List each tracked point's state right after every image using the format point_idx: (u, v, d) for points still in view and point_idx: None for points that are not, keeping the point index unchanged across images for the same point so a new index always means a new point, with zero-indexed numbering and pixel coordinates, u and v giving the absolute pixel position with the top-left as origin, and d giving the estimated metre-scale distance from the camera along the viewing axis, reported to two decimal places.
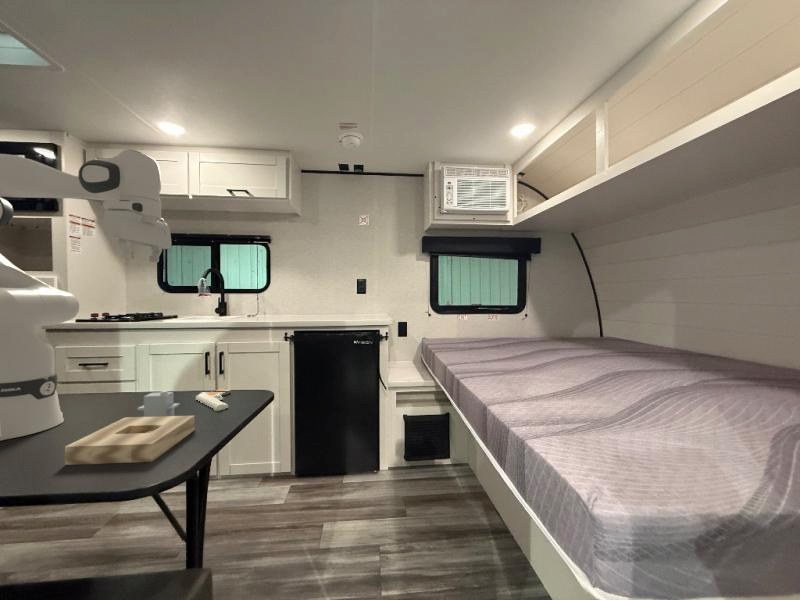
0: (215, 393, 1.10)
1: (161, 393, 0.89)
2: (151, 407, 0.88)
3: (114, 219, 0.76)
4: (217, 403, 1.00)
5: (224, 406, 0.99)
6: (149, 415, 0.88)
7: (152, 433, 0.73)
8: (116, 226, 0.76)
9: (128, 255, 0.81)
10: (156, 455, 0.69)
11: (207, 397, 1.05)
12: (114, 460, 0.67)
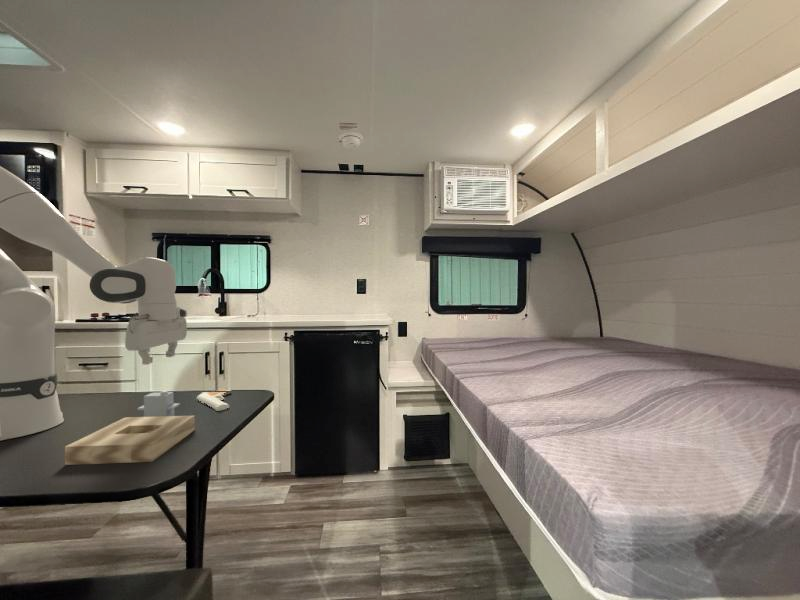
0: (216, 393, 1.10)
1: (161, 393, 0.89)
2: (151, 407, 0.88)
3: None
4: (218, 403, 1.00)
5: (225, 406, 0.99)
6: (149, 415, 0.88)
7: (152, 433, 0.73)
8: None
9: None
10: (156, 455, 0.69)
11: (208, 397, 1.05)
12: (114, 460, 0.67)
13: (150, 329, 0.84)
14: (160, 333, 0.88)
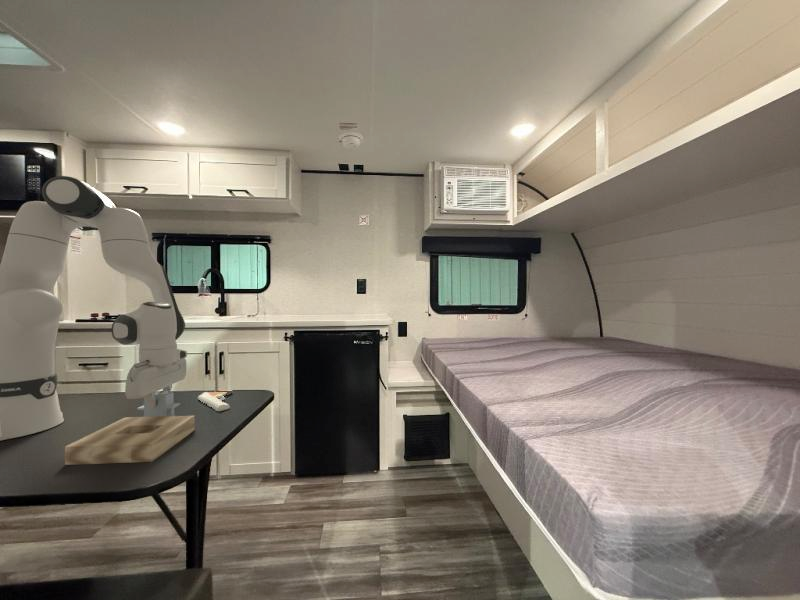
0: (217, 393, 1.09)
1: (161, 393, 0.89)
2: None
3: None
4: (218, 403, 0.99)
5: (225, 406, 0.99)
6: (149, 415, 0.88)
7: (152, 433, 0.73)
8: None
9: None
10: (156, 455, 0.69)
11: (209, 397, 1.05)
12: (114, 460, 0.67)
13: (150, 375, 0.84)
14: (160, 378, 0.88)
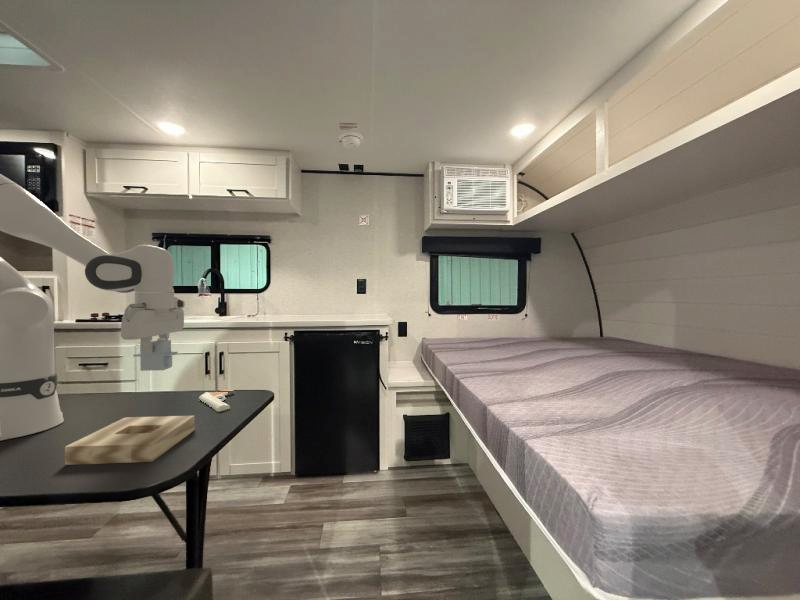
0: (218, 393, 1.09)
1: (158, 340, 0.86)
2: (148, 353, 0.85)
3: None
4: (219, 404, 0.99)
5: (226, 407, 0.99)
6: (145, 362, 0.85)
7: (152, 433, 0.73)
8: None
9: None
10: (156, 455, 0.69)
11: (210, 397, 1.05)
12: (114, 460, 0.67)
13: (147, 318, 0.82)
14: (157, 323, 0.85)
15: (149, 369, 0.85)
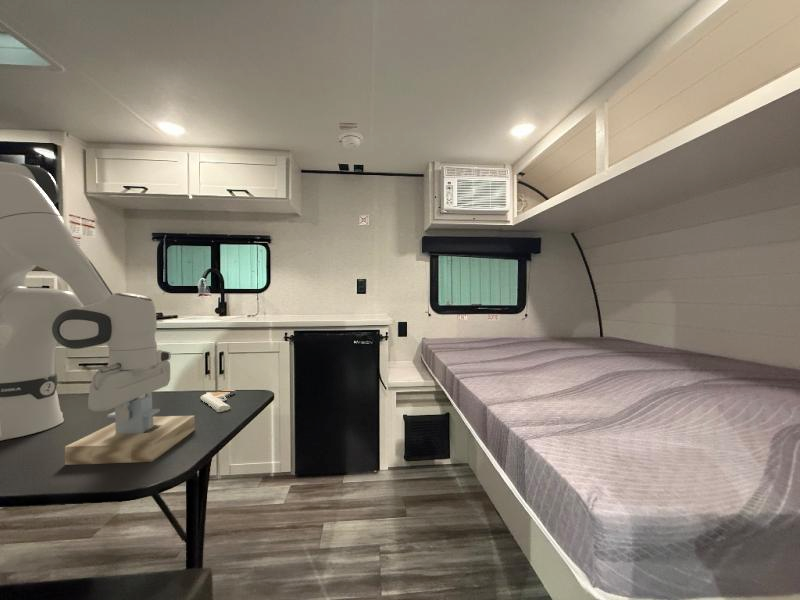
0: (219, 393, 1.09)
1: None
2: None
3: None
4: (219, 404, 0.99)
5: (226, 407, 0.98)
6: (121, 424, 0.73)
7: (152, 433, 0.73)
8: None
9: None
10: (156, 455, 0.69)
11: (211, 398, 1.05)
12: (114, 460, 0.67)
13: (121, 382, 0.69)
14: (135, 385, 0.73)
15: (126, 432, 0.73)
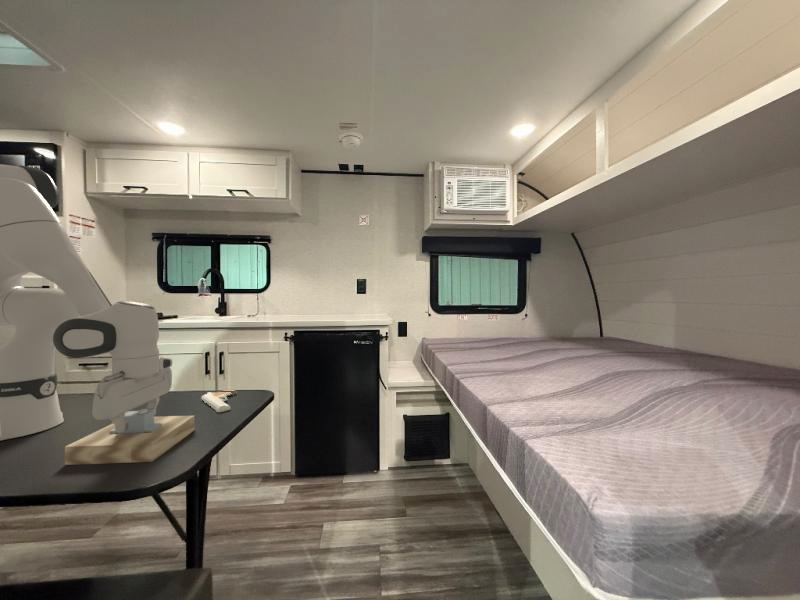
0: (220, 394, 1.09)
1: (139, 412, 0.74)
2: None
3: None
4: (219, 404, 0.98)
5: (226, 407, 0.98)
6: None
7: (152, 433, 0.73)
8: None
9: None
10: (156, 455, 0.69)
11: (211, 398, 1.05)
12: (114, 460, 0.67)
13: (125, 390, 0.70)
14: (138, 392, 0.73)
15: None
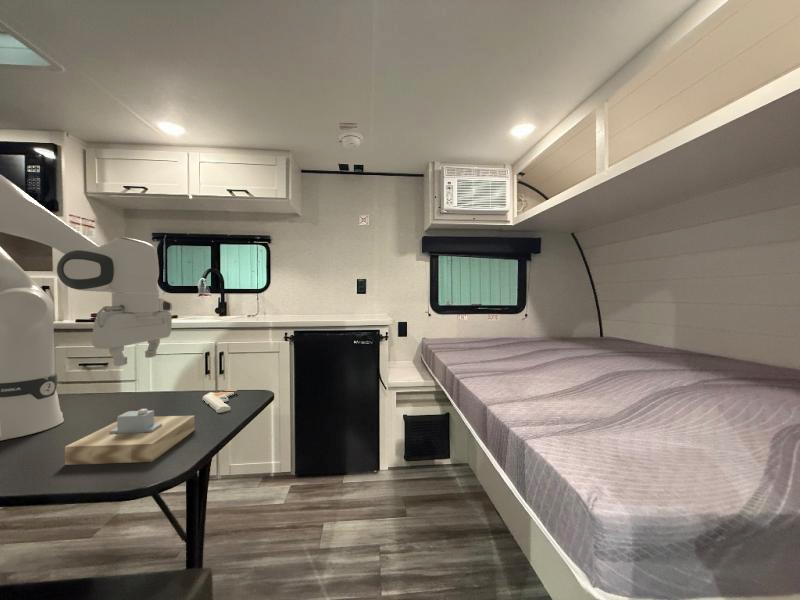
0: (221, 394, 1.09)
1: (139, 412, 0.74)
2: (126, 429, 0.73)
3: None
4: (220, 405, 0.98)
5: (226, 408, 0.97)
6: None
7: (152, 433, 0.73)
8: None
9: None
10: (156, 455, 0.69)
11: (212, 398, 1.04)
12: (114, 460, 0.67)
13: (125, 323, 0.70)
14: (138, 329, 0.73)
15: None
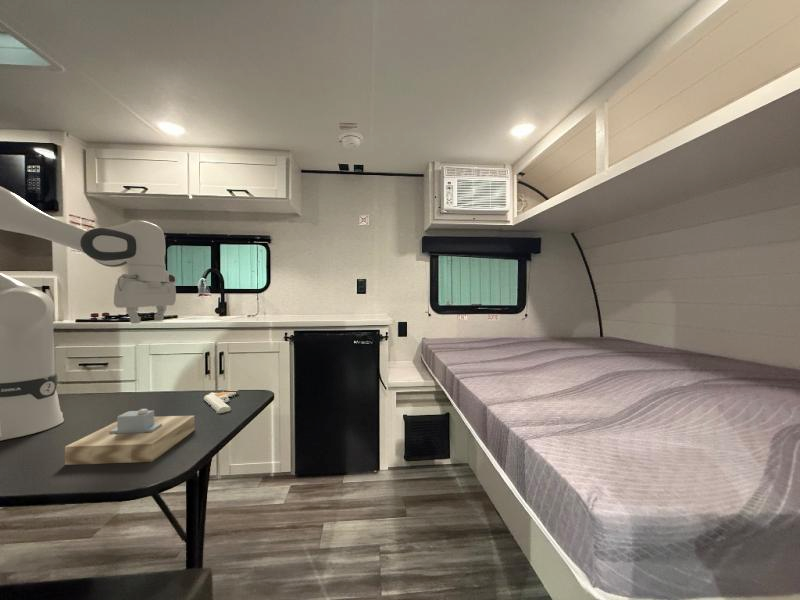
0: (223, 394, 1.09)
1: (139, 412, 0.74)
2: (126, 429, 0.73)
3: None
4: (220, 405, 0.98)
5: (226, 409, 0.97)
6: None
7: (152, 433, 0.73)
8: None
9: None
10: (156, 455, 0.69)
11: (213, 398, 1.04)
12: (114, 460, 0.67)
13: (139, 289, 0.87)
14: (149, 295, 0.90)
15: None
